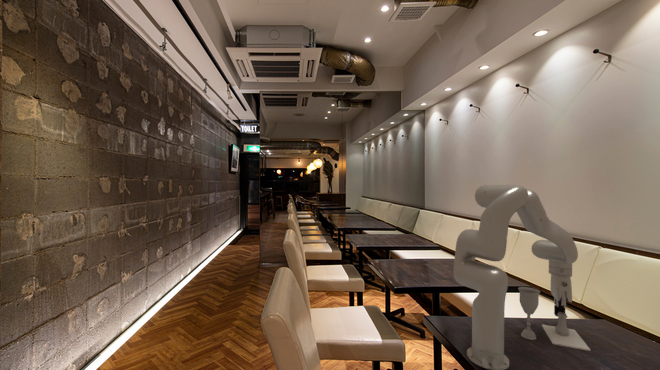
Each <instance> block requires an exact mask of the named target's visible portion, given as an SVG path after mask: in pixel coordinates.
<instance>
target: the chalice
mask: <svg viewBox="0 0 660 370" xmlns="http://www.w3.org/2000/svg"><path fill="white" fill-rule="evenodd" d="M517 289H518V291H519V303H520V306H521V308H522V310H523V312H524V313H525V314H526V316H527V317H526V323H525V324H526V328H523V330H522V331H521V333H520V336H521V337H522V338H525V339H527V340H532V341H535V340H537V339H538V338H537V336H536V334H535V332H534V331H533V329H532V328H531V325H532V323H531V321H532V318H531V315H534V313H535V312H536V310H537V309H538V307H539V297H540V296H539V295H540V293H541V290H539V289H537V288H533V287H527V286H519V287H518V288H517Z"/></svg>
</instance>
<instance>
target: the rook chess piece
mask: <svg viewBox="0 0 660 370" xmlns="http://www.w3.org/2000/svg"><path fill="white" fill-rule="evenodd" d="M557 315H558V317H557V320H558V321H557V322H558V323H557V325H556V326H555V327H556V328H555V329H556V330H555V332H556V333H557V334H559V335H562V336H568V335H569V330H568V329H569V328H568V325H567V321H568V320H567V319H568V315H567V313H566V312H565V313H564V312H563V313H562V312H558V314H557Z"/></svg>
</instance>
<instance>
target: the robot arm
mask: <svg viewBox="0 0 660 370" xmlns="http://www.w3.org/2000/svg"><path fill="white" fill-rule="evenodd" d="M474 199H475V202H476V204H477V205H478V206H480V207H481V208H484V210H483V211H482V214H481V216H480V220H479V221H480V222H479V226H478V230H477V229H473V228H472V229H471V228H470V229H464V230H463V231H461V232H460V233H459V234H458V236H457V238H456V243H455V250H454V262H453V277H454V280H455V281H456V283H458V284H460V285H461V286H464V287H466V288H469V289H472V290H475V291H477V292H478V295H477V296H476V297H475V298H474V300H473V301H472V304H471V305H472V308H471V346H469V348H467V350H466V356H467V358H468V359H469V360H470V361H471V362H472V363H474V364H475V365H477V366H479V367H480V368H484V369H486V370H507V369H509V367H510V359H509V357H507V355H505V307H506V304H505V303H506V298H507V297H506V296H507V293H508V292H507V291H508V289H509V288H508V287H509V277H508V275H507V273H506V272H505V271H504V270H503V269H501V268H500V267H498V266H496V265H492V264H489V263H485V262H481V261H476V258H477V259H482V260H485V261H490V262H500V261H502V260H503V259H504V258H505V256H506V253H507V252H506V251H507V243H508V234H509V233H508V232H509V225H510V221H511V219H512V217H513V216H514V214H515V213H516V214H517V215H518V217H519V219H520V221H521V224H522V226H523V227H524V229H525V230H526V231H528V232H529V233H531V234H533V235H536V236H538V237H541V238H542V239H539V240H535V241H534V242H533V243H532V245H531V252H532V255H534V256H535V257H536V258H538V259H542V260H546V261H548V274H549V275H550V294H551V295H552V296H553V298H554V299H553V302H554V308H553V309H554V310H553V312H554V313H553V314H554V316H555V317H557V318H558V315H557V314H558V312H562V313H563V312H564V313H566V306H567V302H569V303H570V304H571V303H572V302H573V292H572V291H573V290H572V280H571V277H573V264H574V263H575V262H576V261H577V260H578V257H579V251H578V248H577V244H576V243H575V240H574V239H573V236H572V235H571V234H570V233H569V232H568V231H567V230H565V229H564V228H562V227H561V226H560V225H559V224H557V223H556V222H554V221H552V220H550V218H549V216H548V214H547V212H546V209H545V207H544V205H543V203H542V201H541V199H540V197H539V195H538V194H537V192H536V191H535V190H532V189H527V188H526V187H524V186H521V185H516V184H483V185H480V186H478V188H477V189H476V190H475V194H474Z"/></svg>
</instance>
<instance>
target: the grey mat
mask: <svg viewBox="0 0 660 370" xmlns="http://www.w3.org/2000/svg"><path fill="white" fill-rule="evenodd" d="M541 327H542V329H543V330H544V332H545V334H546V336H547V337H548V339H549V340H550V342H551V344H552V345H555V346H560V347H567V348H572V349H578V350H583V351H589V352H591V348H590V347H589V346H588V344H587V343H586V342H585V340H583V339H582V337H581V336H580V335H579V333H578V332H577V331H576V330H575V329H574V328H568V330H569V335H568V336H562V335H559V334H557V333H556V332H555V330H556V329H555V328H556V327H557V326H555V325H554V326H553V325H548V324H544V323H543V324H541Z"/></svg>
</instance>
